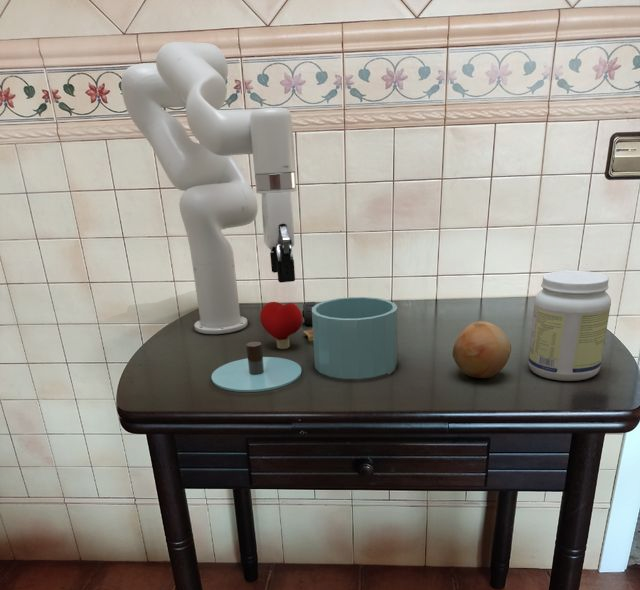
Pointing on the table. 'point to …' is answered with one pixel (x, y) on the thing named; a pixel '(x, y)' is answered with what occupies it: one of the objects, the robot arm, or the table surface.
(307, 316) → the flashlight
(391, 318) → the pot
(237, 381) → the lid
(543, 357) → the supplement tub
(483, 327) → the onion
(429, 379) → the table surface
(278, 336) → the red rounded piece
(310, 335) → the shard
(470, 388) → the table surface
